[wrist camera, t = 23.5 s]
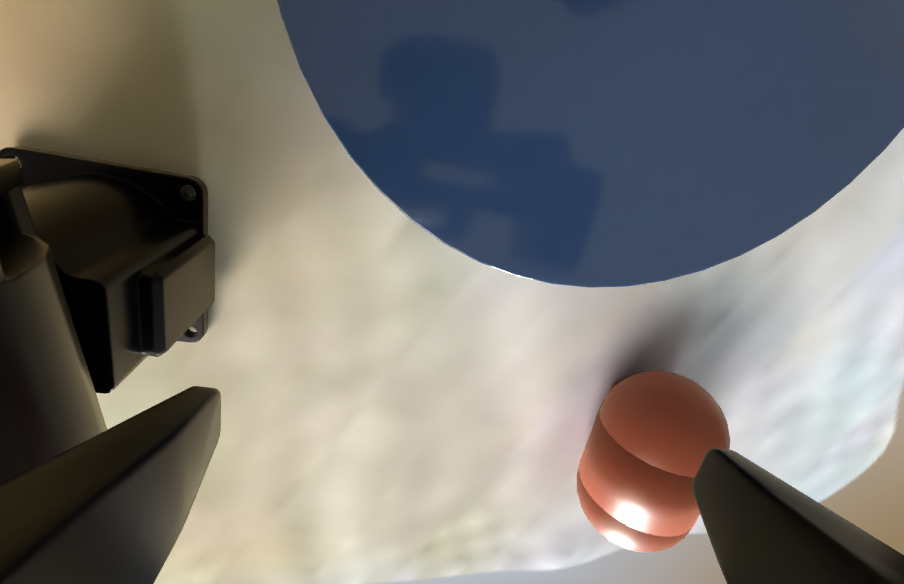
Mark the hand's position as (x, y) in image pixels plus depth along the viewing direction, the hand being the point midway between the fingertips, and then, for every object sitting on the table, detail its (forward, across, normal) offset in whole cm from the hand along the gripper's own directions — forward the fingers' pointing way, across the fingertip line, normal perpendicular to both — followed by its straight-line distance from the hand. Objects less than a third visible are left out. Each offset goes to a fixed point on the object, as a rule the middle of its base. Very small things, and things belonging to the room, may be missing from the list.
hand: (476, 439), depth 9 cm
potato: (+11, -10, +7) cm, 16 cm away
